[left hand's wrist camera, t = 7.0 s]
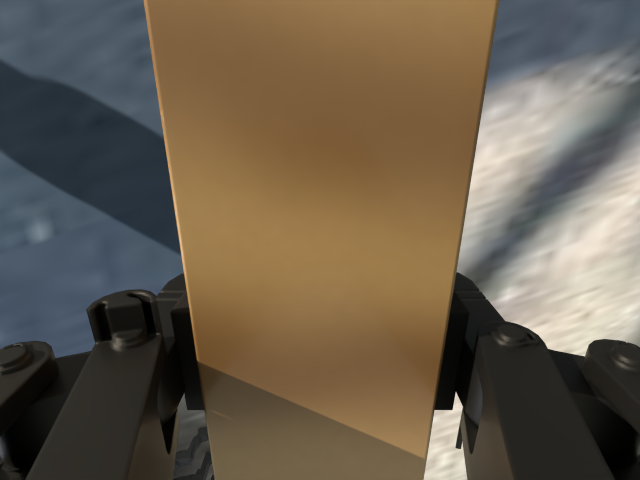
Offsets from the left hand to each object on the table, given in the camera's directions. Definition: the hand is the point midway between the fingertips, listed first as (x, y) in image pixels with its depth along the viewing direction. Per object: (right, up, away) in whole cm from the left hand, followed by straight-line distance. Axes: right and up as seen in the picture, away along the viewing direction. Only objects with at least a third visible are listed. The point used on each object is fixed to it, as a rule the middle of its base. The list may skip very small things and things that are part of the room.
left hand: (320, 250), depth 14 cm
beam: (0, +22, -8) cm, 23 cm away
